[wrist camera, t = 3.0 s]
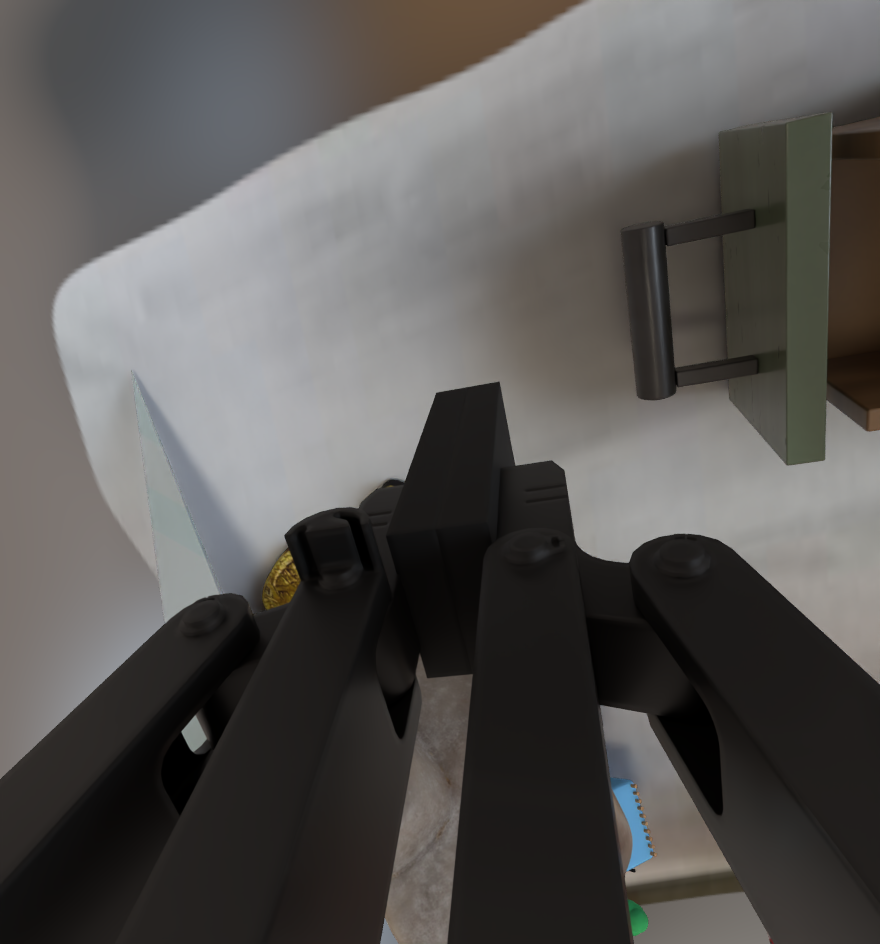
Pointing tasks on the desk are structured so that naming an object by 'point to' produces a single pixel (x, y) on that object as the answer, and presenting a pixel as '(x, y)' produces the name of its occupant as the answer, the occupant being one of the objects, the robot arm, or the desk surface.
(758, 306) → the drawer
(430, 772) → the grey stone
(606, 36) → the desk surface
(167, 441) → the desk surface
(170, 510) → the dagger
